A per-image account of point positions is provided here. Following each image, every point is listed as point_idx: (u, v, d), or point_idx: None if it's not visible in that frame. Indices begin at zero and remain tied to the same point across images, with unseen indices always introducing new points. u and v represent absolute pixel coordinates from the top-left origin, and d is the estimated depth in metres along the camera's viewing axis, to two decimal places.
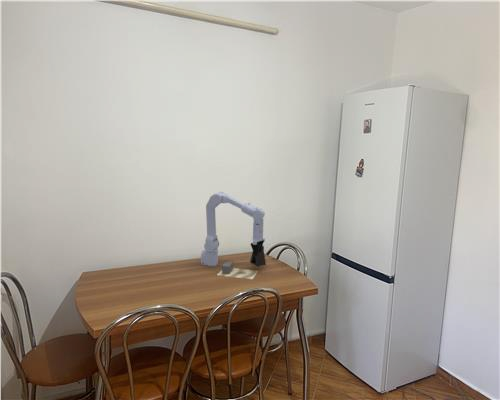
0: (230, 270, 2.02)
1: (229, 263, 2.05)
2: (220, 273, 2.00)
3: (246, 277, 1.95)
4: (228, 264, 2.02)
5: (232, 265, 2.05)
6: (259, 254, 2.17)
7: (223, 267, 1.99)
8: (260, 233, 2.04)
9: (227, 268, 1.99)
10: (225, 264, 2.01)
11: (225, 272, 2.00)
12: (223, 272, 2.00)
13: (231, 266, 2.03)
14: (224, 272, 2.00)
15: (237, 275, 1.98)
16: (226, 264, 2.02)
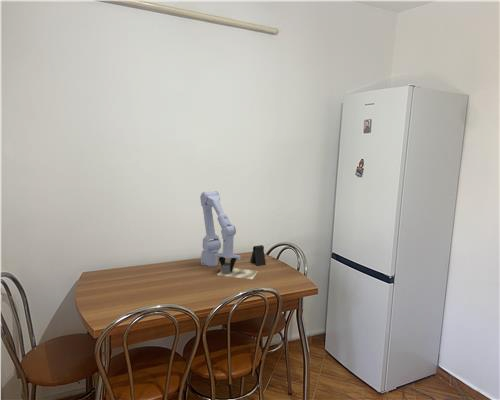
0: None
1: (229, 263, 2.05)
2: (220, 273, 2.00)
3: (246, 277, 1.95)
4: (228, 264, 2.02)
5: None
6: (259, 254, 2.17)
7: (223, 267, 1.99)
8: (223, 249, 2.00)
9: (227, 268, 1.99)
10: (225, 264, 2.01)
11: (225, 272, 2.00)
12: (223, 272, 2.00)
13: None
14: (224, 272, 2.00)
15: (237, 275, 1.98)
16: (226, 264, 2.02)
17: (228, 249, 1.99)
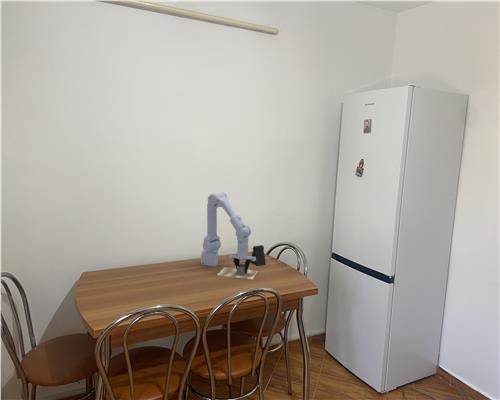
0: None
1: (243, 264, 2.03)
2: (220, 273, 2.00)
3: (246, 277, 1.95)
4: (243, 265, 2.00)
5: None
6: (259, 254, 2.17)
7: (238, 269, 1.97)
8: (238, 250, 1.98)
9: (242, 269, 1.97)
10: (240, 266, 1.99)
11: (240, 274, 1.98)
12: (238, 274, 1.98)
13: None
14: (239, 274, 1.98)
15: (237, 275, 1.98)
16: (241, 265, 2.00)
17: (243, 250, 1.97)
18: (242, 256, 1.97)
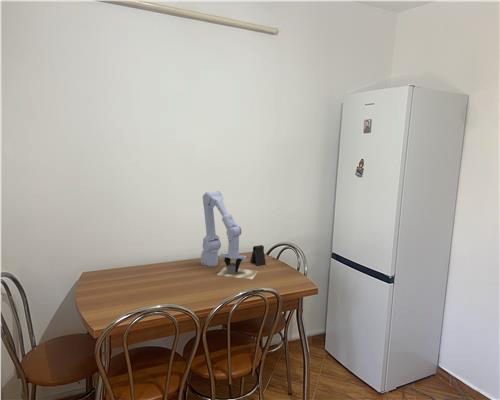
0: (235, 270, 2.01)
1: (234, 263, 2.04)
2: (220, 273, 2.00)
3: (246, 277, 1.95)
4: (233, 264, 2.01)
5: None
6: (259, 254, 2.17)
7: (228, 267, 1.99)
8: (228, 250, 2.00)
9: (232, 268, 1.98)
10: (231, 265, 2.00)
11: (230, 273, 1.99)
12: (229, 273, 1.99)
13: None
14: (229, 273, 1.99)
15: (237, 275, 1.98)
16: (231, 264, 2.01)
17: (234, 250, 1.98)
18: (233, 255, 1.99)
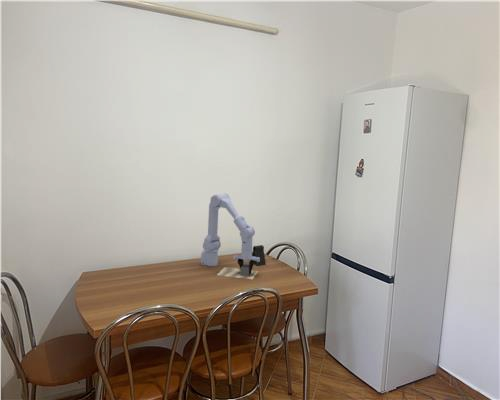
0: None
1: (247, 264, 2.02)
2: (220, 273, 2.00)
3: (246, 277, 1.95)
4: (247, 266, 2.00)
5: None
6: (259, 254, 2.17)
7: (242, 269, 1.97)
8: (242, 251, 1.98)
9: (246, 270, 1.96)
10: (244, 266, 1.99)
11: (244, 274, 1.97)
12: (242, 274, 1.97)
13: None
14: (243, 274, 1.97)
15: (237, 275, 1.98)
16: (245, 266, 1.99)
17: (247, 251, 1.96)
18: (246, 256, 1.97)
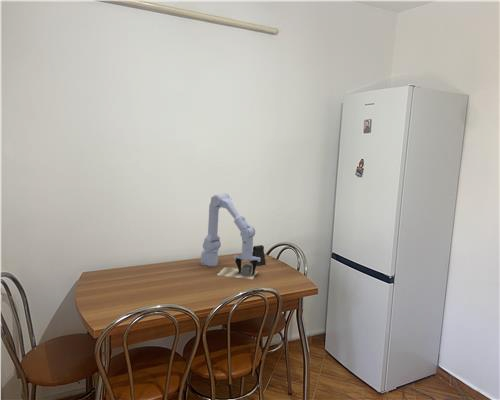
0: (249, 272, 1.99)
1: (248, 265, 2.02)
2: (220, 273, 2.00)
3: (246, 277, 1.95)
4: (247, 266, 2.00)
5: (251, 267, 2.03)
6: (259, 254, 2.17)
7: (243, 269, 1.97)
8: (242, 251, 1.98)
9: (247, 270, 1.96)
10: (245, 266, 1.99)
11: (244, 274, 1.97)
12: (243, 274, 1.97)
13: (250, 268, 2.01)
14: (243, 274, 1.97)
15: (237, 275, 1.98)
16: (245, 266, 1.99)
17: (248, 251, 1.96)
18: (247, 257, 1.97)
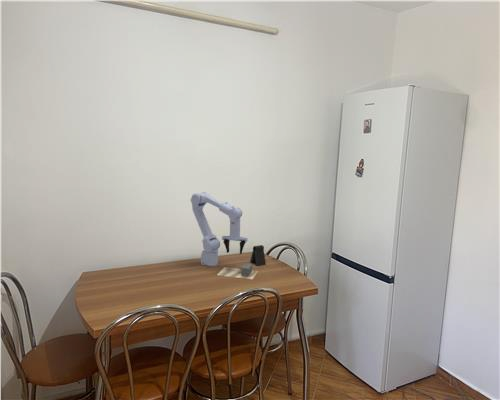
0: (249, 272, 1.99)
1: (248, 265, 2.02)
2: (220, 273, 2.00)
3: (246, 277, 1.95)
4: (247, 266, 2.00)
5: (251, 267, 2.03)
6: (259, 254, 2.17)
7: (243, 269, 1.97)
8: (230, 231, 2.04)
9: (247, 270, 1.96)
10: (245, 266, 1.99)
11: (244, 274, 1.97)
12: (243, 274, 1.97)
13: (250, 268, 2.01)
14: (243, 274, 1.97)
15: (237, 275, 1.98)
16: (245, 266, 1.99)
17: (235, 231, 2.03)
18: (234, 237, 2.03)
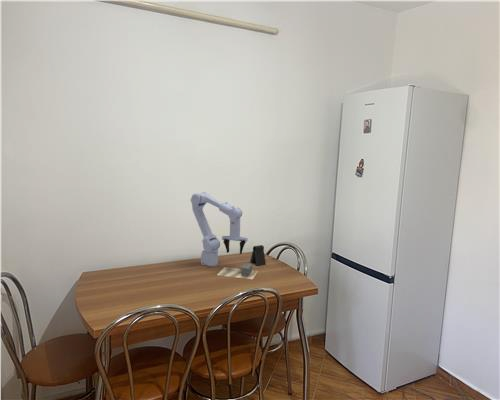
0: (249, 272, 1.99)
1: (248, 265, 2.02)
2: (220, 273, 2.00)
3: (246, 277, 1.95)
4: (247, 266, 2.00)
5: (251, 267, 2.03)
6: (259, 254, 2.17)
7: (243, 269, 1.97)
8: (230, 231, 2.04)
9: (247, 270, 1.96)
10: (245, 266, 1.99)
11: (244, 274, 1.97)
12: (243, 274, 1.97)
13: (250, 268, 2.01)
14: (243, 274, 1.97)
15: (237, 275, 1.98)
16: (245, 266, 1.99)
17: (235, 231, 2.03)
18: (234, 237, 2.03)
